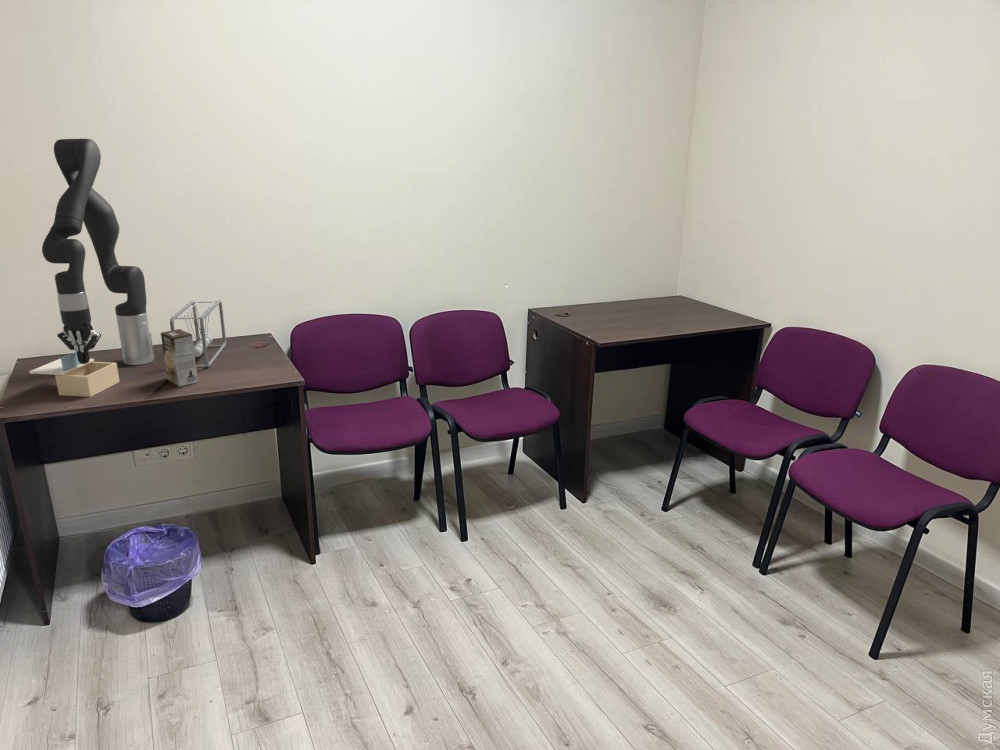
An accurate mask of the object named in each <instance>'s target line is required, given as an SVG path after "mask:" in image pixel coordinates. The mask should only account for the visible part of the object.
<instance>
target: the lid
mask: <svg viewBox="0 0 1000 750" xmlns="http://www.w3.org/2000/svg"><path fill="white" fill-rule="evenodd" d="M90 362H95V359H94V358H90V361H89V362H88V363H90ZM88 363H86V364H88ZM86 364H80V362H79V361H78V357H77V352H76V351H75V350H74V351H73V352H70V353H69V354H66V355H64V356H61V357H60V358H58V359H55V360H54V361H51V362H48V363H46V364H44V365H41V366H39V367H36V368H34V369H31V370H29V371H28V373H29V374H33V375H37V374H38V375H54V376H55V375H63V374H66V373H68V372H70V371H72V370H75V369H77V368H79V367H81V366H83V365H86Z"/></svg>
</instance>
